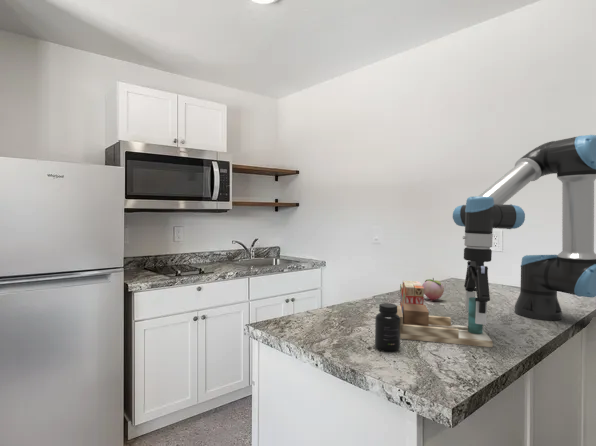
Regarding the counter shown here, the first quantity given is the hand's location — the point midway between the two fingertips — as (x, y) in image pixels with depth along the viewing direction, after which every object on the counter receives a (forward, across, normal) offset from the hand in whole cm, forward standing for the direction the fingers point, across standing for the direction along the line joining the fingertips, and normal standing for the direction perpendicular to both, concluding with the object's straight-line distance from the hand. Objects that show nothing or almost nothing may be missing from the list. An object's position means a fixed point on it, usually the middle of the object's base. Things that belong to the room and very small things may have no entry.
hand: (474, 317), depth 110 cm
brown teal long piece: (+4, 0, -9) cm, 10 cm away
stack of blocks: (+7, -24, -17) cm, 30 cm away
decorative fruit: (+6, -49, -6) cm, 50 cm away
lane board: (+6, 0, -10) cm, 12 cm away
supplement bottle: (+7, +16, -26) cm, 31 cm away
